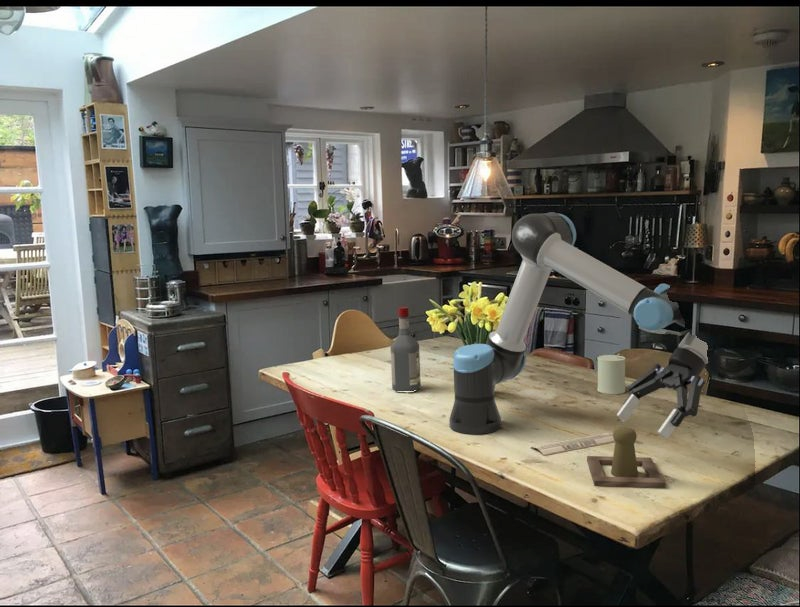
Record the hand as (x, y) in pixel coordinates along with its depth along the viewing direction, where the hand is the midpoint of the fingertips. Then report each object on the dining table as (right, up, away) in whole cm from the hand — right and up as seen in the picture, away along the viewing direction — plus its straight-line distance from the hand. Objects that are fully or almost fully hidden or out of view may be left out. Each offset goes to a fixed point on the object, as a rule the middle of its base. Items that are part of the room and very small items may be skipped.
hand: (640, 426), depth 149 cm
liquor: (-54, -3, +82) cm, 98 cm away
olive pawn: (-4, -11, +1) cm, 12 cm away
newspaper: (-9, -10, +20) cm, 24 cm away
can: (+16, -1, +70) cm, 72 cm away
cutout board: (-4, -11, +1) cm, 12 cm away
